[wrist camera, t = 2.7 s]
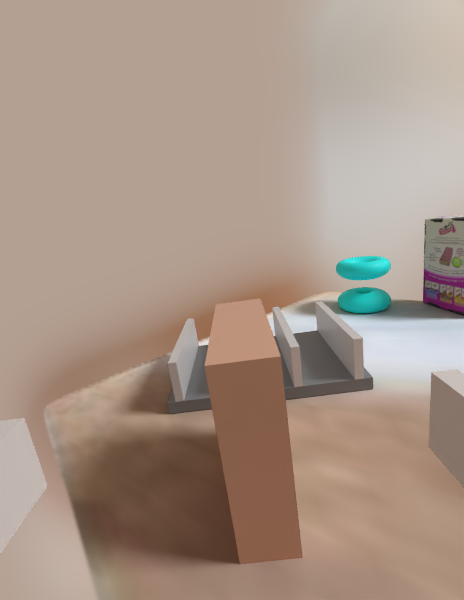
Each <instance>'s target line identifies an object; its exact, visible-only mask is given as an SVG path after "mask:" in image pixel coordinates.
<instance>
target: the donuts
mask: <svg viewBox="0 0 464 600" xmlns="http://www.w3.org/2000/svg"><path fill="white" fill-rule="evenodd" d="M390 265H391V264H390V262H389V260H388V259H386V258H384V257H377V256H365V257H355V258H349V259H345V260H342V261H340V262H339V263H338V264H337V266H336V271H337V273H338V274H339V275H340V276H341V277H343V278H346V279H350V280H369V279H375V278H378V277H381V276H383V275H385V274H386V273H387V272H388V271H389V269H390V267H391V266H390ZM390 303H391V298H390V296H389V295H388V293H386V292H385V291H383V290H380V289H377V288H370V287H369V288H368V287H363V288H354V289H350V290H347V291H345V292H343V293H342V294H341V295H340V296H339V298H338V304H339V306H340V307H341V308H342V309H343V310H345V311H348V312H353V313H374V312H379V311H382V310H384V309H386V308H387V307H388V306H389V305H390Z"/></svg>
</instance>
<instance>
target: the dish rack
mask: <svg viewBox="0 0 464 600" xmlns="http://www.w3.org/2000/svg"><path fill="white" fill-rule="evenodd" d="M315 304H316V318H317V331H311V332H303V333H296V334H293V333H292V331H291V330H290V328H289V326H288V324H287V322H286V320H285V318H284V316H283V314H282V313H281V311H280V309H279V307H273V308H272V309H273V319H274V328H275V336H274V339H275V341H276V344H277V347H278V350H279V353H280V355H281V363H282V372H283V381H284V391H285V400H288V399H296V398H304V397H312V396H320V395H328V394H336V393H345V392H353V391H361V390H369V389H373V377H372V376H371V375H370V374H369V373H368V372H367V370H366V369H365V368H364V365H363V338H362V337H361V336H360V335H358V334H357V333H356V332H355V331H354V330H353V329H352V328H351V327H350V326H349V325H347V324H346V323H345V322H344V321H343V320H342V319H341V318H340V317H339V316H338V315H336V314H335V313H334V312H333V311H332V310H331V309H330V308H329V307H328V306H326V305H325V304H324V303H323V302H322V301H318V302H315ZM207 350H208V345H204V346H198V340H197V335H196V329H195V324H194V319H193V318H192V319H187V321H186V324H185V326H184V328H183V330H182V332H181V335H180V337H179V339H178V341H177V343H176V346H175V348H174V350H173V352H172V354H171V357H170V359H169V361H168V363H167V364H168V369H169V373H170V378H171V383H172V387H173V388H172V391H171V394H170V397H169V399H168V402H167V404H168V409H169V413H170V414H174V413H182V412H190V411H198V410H206V409H212V405H211V400H210V394H209V388H208V383H207V377H206V372H205V361H206V355H207Z"/></svg>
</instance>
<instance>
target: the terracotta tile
mask: <svg viewBox="0 0 464 600" xmlns="http://www.w3.org/2000/svg"><path fill="white" fill-rule="evenodd" d="M205 372H206V377H207V383H208V388H209V394H210V400H211V405H212V411H213V416H214V422H215V428H216V433H217V439H218V444H219V450H220V455H221V461H222V467H223V472H224V478H225V483H226V489H227V495H228V500H229V506H230V511H231V517H232V522H233V528H234V534H235V539H236V545H237V550H238V556H239V561H240V564H245V563H255V562H264V561H274V560H283V559H293V558H303V557H302V548H301V539H300V529H299V520H298V511H297V502H296V492H295V483H294V474H293V465H292V455H291V446H290V437H289V428H288V418H287V409H286V400H285V391H284V381H283V372H282V363H281V355H280V353H279V350H278V347H277V344H276V341H275V339H274V336H273V333H272V330H271V327H270V325H269V322H268V319H267V316H266V313H265V311H264V308H263V305H262V302H261V300H260V299H253V300H245V301H238V302H230V303H223V304H217V305H216V308H215V313H214V319H213V324H212V329H211V334H210V340H209V345H208V350H207V355H206V361H205Z"/></svg>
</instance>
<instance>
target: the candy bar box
mask: <svg viewBox="0 0 464 600" xmlns="http://www.w3.org/2000/svg"><path fill="white" fill-rule="evenodd" d="M424 249H425V250H424V287H423V302H424V303H427V304H430V305H433V306H436V307H439V308H442V309H445V310H449V311H452V312H455V313H458V314H462V315H464V215H458V216H445V217H436V218H431V219H426V220H425V246H424Z"/></svg>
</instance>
